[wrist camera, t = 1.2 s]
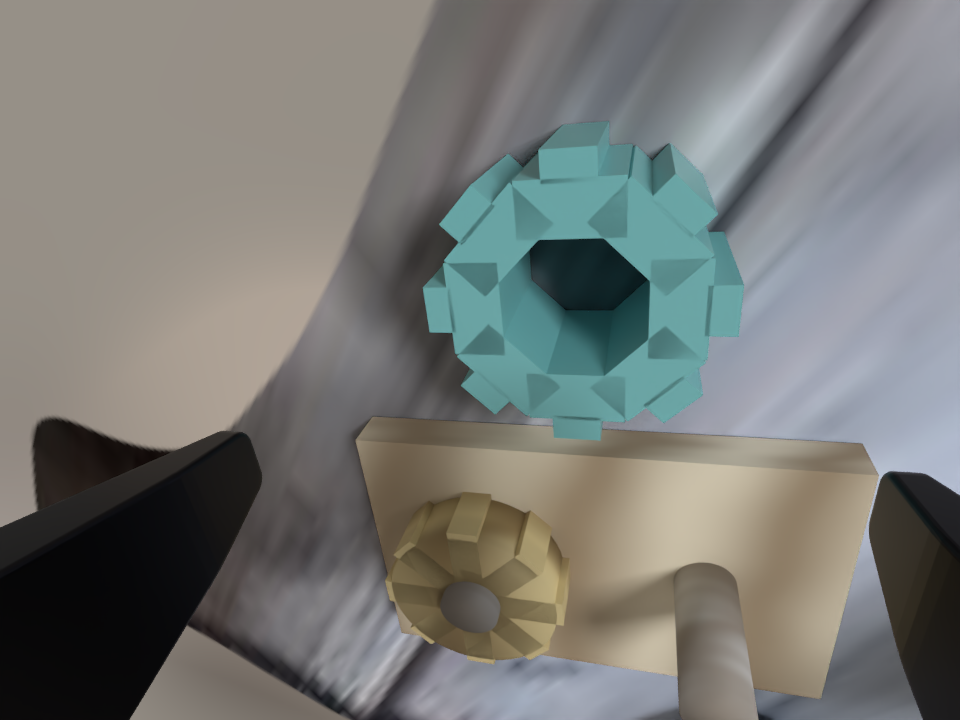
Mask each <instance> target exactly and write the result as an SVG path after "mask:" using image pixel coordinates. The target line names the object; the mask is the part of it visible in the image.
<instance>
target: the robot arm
mask: <svg viewBox="0 0 960 720" xmlns="http://www.w3.org/2000/svg"><path fill="white" fill-rule="evenodd" d="M261 483H262V472H261V469H260V466H259V463H258V460H257V457H256V454H255V451H254V449H253V446H252V443H251V440H250V438H249V437H248V436H247V435H246V434H245V433H243V432H233V431H221V432H217V433H215V434H213V435H211V436H208V437H206V438H204V439H201V440H199V441H197V442H194V443H192V444H190V445H188V446H185V447H183V448H181V449H178V450H176V451H174V452H172V453H169V454H167V455H165V456H162V457H160V458H158V459H156V460H153V461H151V462H149V463H146V464H144V465H142V466H140V467H137V468H135V469H133V470H130V471H128V472H126V473H124V474H121V475H119V476H117V477H114V478H112V479H110V480H108V481H105V482H103V483H101V484H98V485H96V486H94V487H92V488H89V489H87V490H85V491H82V492H80V493H78V494H76V495H73V496H71V497H69V498H67V499H64V500H62V501H60V502H57V503H55V504H53V505H51V506H48V507H46V508H44V509H41V510H39V511H37V512H35V513H32V514H30V515H28V516H25V517H23V518H21V519H19V520H16V521H14V522H12V523H9V524H7V525H5V526H3V527H0V720H130V718H131V716H132V715H133V713H134V711H135V710H136V708H137V706H138V705H139V703H140V702H141V700H142V698H143V697H144V695H145V693H146V692H147V690H148V688H149V687H150V685H151V683H152V682H153V680H154V678H155V677H156V675H157V674H158V672H159V670H160V669H161V667H162V665H163V664H164V662H165V660H166V659H167V657H168V655H169V654H170V652H171V650H172V649H173V647H174V646H175V644H176V642H177V641H178V639H179V637H180V636H181V634H182V632H183V631H184V629H185V627H186V626H187V624H188V622H189V621H190V619H191V618H192V616H193V614H194V613H195V611H196V609H197V608H198V606H199V604H200V603H201V601H202V599H203V598H204V596H205V594H206V593H207V591H208V590H209V588H210V586H211V585H212V583H213V581H214V579H215V578H216V576H217V574H218V572H219V571H220V569H221V567H222V565H223V563H224V561H225V559H226V557H227V555H228V553H229V551H230V549H231V547H232V545H233V543H234V541H235V539H236V537H237V535H238V533H239V530H240V528H241V526H242V524H243V522H244V520H245V518H246V516H247V514H248V512H249V510H250V508H251V506H252V504H253V502H254V500H255V497H256V495H257V493H258V491H259V489H260V487H261ZM869 538H870V543H871V547H872V551H873V555H874V559H875V563H876V567H877V571H878V575H879V579H880V583H881V587H882V591H883V595H884V598H885V602H886V606H887V610H888V614H889V618H890V622H891V626H892V630H893V634H894V638H895V642H896V645H897V649H898V652H899V656H900V659H901V662H902V665H903V668H904V671H905V674H906V676H907V679H908V682H909V685H910V687H911V690H912V692H913V695H914V698H915V700H916V703H917V705H918V708H919V711H920V713H921V716H922V718H923V720H960V495H958V494H957V493H955V492H954V491H952V490H951V489H949V488H947V487H946V486H944V485H943V484H941V483H940V482H938V481H936V480H935V479H933V478H932V477H930V476H928V475H926V474H923V473H912V472H896V471H890V472H888V473H886V474H884V475H883V477H882V478H881V481H880V484H879V487H878V491H877V495H876V499H875V503H874V506H873V510H872V514H871V518H870V522H869Z"/></svg>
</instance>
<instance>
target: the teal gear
mask: <svg viewBox="0 0 960 720" xmlns="http://www.w3.org/2000/svg"><path fill="white" fill-rule="evenodd" d="M717 215H718V213H717V210H716V208H715V205H714V203H713V200H712V197H711V195H710V192H709V189H708V187H707V184H706V182H705V179H704V176H703V174H702V173H701V172H700V171H699V170H698V169H697V168H696V167H695V166H693V165H692V164H691V163H690V162H689V161H688V160H687V159H686V158H685V157H684V156H683V155H682V154H681V153H680V152H679V151H678V150H677V149H676V148H675V147H674V146H673V145H672V144H671V143H669V144H668V145H667V146H666V147H665V148H664V149H663V150H662V151H661V152H660V153H659V154H658V155H657V156H656V157H655V158H654V159H653V160H651V159H650V158H649V157H648V156H647V155H646V154H645V153H644V152H643V151H642V150H641V149H640V148H638V147H637V146H636V145H635V146H634V147H633V144H623V145H609V121H604V122H591V123H579V124H566V125H562V126H561V127H560V128H559V129H558V130H557V131H556V132H555V133H554V134H553V135H552V136H551V137H550V138H549V139H548V140H547V141H546V142H545V143H544V144H543V145H542V146H541V147H540V148H539V150H538V153H537V154H536V155H535V156H534V157H533V158H532V159H531V160H530V161H529V162H528V163H527V164H526V165H525V166H524V167H522V166H521V165H520V164H519V163H518V162H517V161H516V160H515V159H514V158H512V157H511V156H510V155H509V154H507V155H506V156H505V157H504V158H502V159H501V160H500V161H499V162H498V163H496V164H495V165H494V166H493V167H491V168H490V169H489V170H488V171H487V172H485V173H484V174H483V175H482V176H481V177H479V178H478V179H477V180H476V181H475V182H473V183H472V184H471V185H470V186H469V188H468V189H467V190H466V191H465V193H464V194H463V195H462V196H461V198H460V199H459V200H458V201H457V203H456V204H455V205H454V206H453V208H452V209H451V210H450V212H449V213H448V214H447V215H446V217H445V218H444V219H443V220H442V222H441V223H440V224H439V225H440V226H441V227H442V228H443V229H444V230H445V231H447V232H448V233H449V234H450V235H451V236H452V237H453V238H455V239H456V240H457V241H458V242H459V243H458V244H457V245H456V246H455V248H454V249H453V250H452V251H451V252H450V254H449V255H448V256H447V257H446V258H445V260H444V261H445V262H444V263H443V266H442V267H441V268H440V269H439V270H438V271H437V272H436V274H435V275H434V276H433V277H432V278H431V279H430V280H429V281H428V282H427V284H426V285H425V286H424V287H423V292H424V299H425V305H426V312H427V318H428V325H429V331H430V332H432V333H452V334H453V341H454V348H455V354H458V356H457V357H458V358H459V359H460V360H461V361H462V362H464V363H465V364H466V365H467V366H468V367H469V368H470V369H469V371H468V373H467V375H466V377H465V379H464V380H463V382H462V384H461V386H462V387H463V388H464V389H465V390H467V391H468V392H469V393H470V394H471V395H472V396H474V397H475V398H476V399H477V400H478V401H480V402H481V403H482V404H483V405H484V406H486V407H487V408H488V409H489V410H490V411H491V412H493V413H494V414H496V413H498V412H499V411H500V410H501V409H502V408H503V407H504V406H505V405H506V404H508V403H509V402H511V403H512V404H513V405H514V406H515V407H517V408H518V409H519V410H520V411H521V412H522V413H524V414H525V415H526V416H528V415H529V414H530V417H532V418H552V419H553V432H554V438H566V439H582V440H599V441H601V433H602V424H603V421H610V422H625V419H626V420H627V421H629V420H631V419H632V418H633V417H634V416H636V415H637V414H638V413H640V412H641V411H642V410H644V409H645V408H647V409H648V410H649V411H650V412H651V413H653V414H654V415H655V416H656V417H657V418H658V419H659V420H661V421H662V422H663V423H665V422H666V421H667V420H669V419H670V418H672V417H673V416H674V415H676V414H677V413H679V412H680V411H681V410H683V409H684V408H686V407H687V406H688V405H690V404H691V403H693V402H694V401H695V400H697V399H698V398H700V397H701V396H702V395H703V391H702V385H701V378H700V371H699V368H700V367H701V366H702V365H704V364H705V363H706V362H705V360H707V358H708V346H709V336H718V337H739V328H740V318H741V309H742V300H743V291H744V284H743V281H742V278H741V276H740V273H739V270H738V268H737V265H736V262H735V260H734V257H733V255H732V252H731V249H730V247H729V244H728V241H727V239H726V236H725V233H724V232H708V230H707V227H706V225H707V224H708V223H709V222H710V221H711V220H712V219H713V218H715V217H716V216H717ZM592 238H604V239H605V240H606V241H607V242H608V243H609V244H610V245H611V246H612V247H614V248H615V249H616V250H617V251H618V252H619V253H620V254H621V255H622V256H623V257H624V258H625V259H627V260H628V261H629V262H630V263H631V264H632V265H633V266H634V267H635V268H636V269H637V270H638V271H639V272H641V273H642V274H643V275H644V276H645V277H646V278H647V279H648V280H647V281H645V282H644V283H643V284H642V285H641V286H640V287H639V288H638V289H636V290H635V291H634V292H633V293H632V294H631V295H630V296H629V297H628V298H626V299H625V300H624V301H623V302H622V303H621V304H620V305H619V306H618V307H616V308H615V309H614V310H565V309H564V308H563V307H562V306H560V305H559V304H558V303H557V302H556V301H555V300H554V299H553V298H551V297H550V296H549V295H548V294H547V293H546V292H545V291H544V290H542V289H541V288H540V287H539V286H538V285H537V284H536V283H535V282H534V281H532V279H531V264H530V249H531V247H532V246H533V245H534V244H535V243H536V242H537V241H538V240H556V239H592Z"/></svg>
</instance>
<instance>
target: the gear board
mask: <svg viewBox="0 0 960 720" xmlns="http://www.w3.org/2000/svg"><path fill="white" fill-rule="evenodd" d="M356 444H357V449H358V453H359V457H360V461H361V465H362V469H363V474H364V478H365V482H366V486H367V490H368V494H369V498H370V503H371V507H372V511H373V515H374V519H375V523H376V528H377V532H378V536H379V540H380V544H381V548H382V552H383V557H384V561H385V565H386V569H387V573H388V576H387V578H386V580H385V582H386V586H387V590H388V594H389V598H390V601H394V602H395V606H396V611H397V615H398V619H399V623H400V627H401V631H402V633H406V634H412V635H419V636H421V637H422V638H424V639H425V640H426V641H428V642H429V643H430V644H432V643H434V642H437V643H438V644H440V645H442V646H444V647H446V648H448V649H450V650H453V651H456V652H458V653H461V654H464V655H467V658H468V660H472V661H478V662H484V663H490V664H494V663H495V660H506V659H514V658H519V657H523V656H525V657H526V658H528V659H529V660H531V659H533V658H535V657H536V656H538V655H545V656H551V657H557V658H564V659H570V660H576V661H583V662H589V663H595V664H602V665H608V666H614V667H621V668H627V669H633V670H639V671H646V672H652V673H658V674H665V675H671V676H677V677H678V697H679V714H680V716H681V718H682V720H758V713H757V707H756V701H755V695H754V689H759V690H766V691H772V692H778V693H784V694H791V695H797V696H803V697H810V698H816V699H821V696H822V692H823V688H824V684H825V680H826V677H827V673H828V669H829V665H830V661H831V657H832V654H833V650H834V646H835V642H836V638H837V634H838V631H839V627H840V623H841V619H842V615H843V611H844V608H845V604H846V600H847V596H848V592H849V588H850V585H851V581H852V577H853V573H854V569H855V565H856V562H857V558H858V554H859V550H860V546H861V542H862V539H863V535H864V531H865V527H866V523H867V519H868V516H869V512H870V508H871V504H872V500H873V496H874V493H875V489H876V485H877V481H878V477H879V475H878V473H877V471H876V469H875V467H874V465H873V463H872V461H871V459H870V457H869V455H868V453H867V452H866V450H865V448H864V446H863V444H858V443H840V442H822V441H804V440H786V439H768V438H750V437H731V436H713V435H695V434H677V433H659V432H641V431H623V430H605V429H602V433H601V441H599V440H582V439H566V438H554V432H553V427H551V426H533V425H515V424H497V423H479V422H461V421H443V420H425V419H407V418H389V417H372V418H371V420H370V421H369V422H368V424H367V425H366V426H365V428H364V429H363V431H362V432H361V433H360V435H359V436H358V437H357V439H356Z"/></svg>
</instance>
